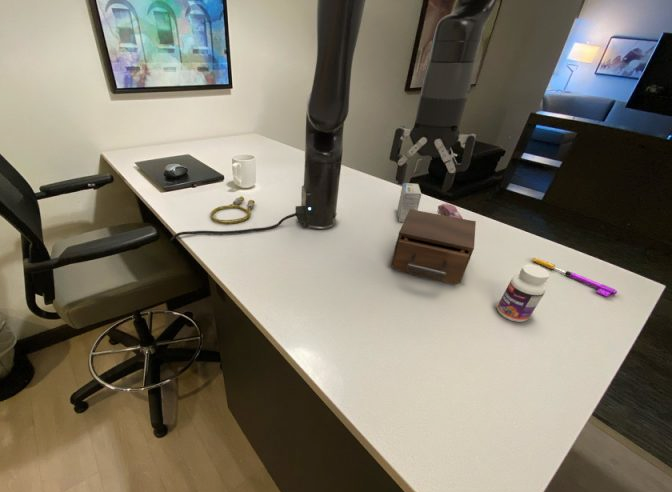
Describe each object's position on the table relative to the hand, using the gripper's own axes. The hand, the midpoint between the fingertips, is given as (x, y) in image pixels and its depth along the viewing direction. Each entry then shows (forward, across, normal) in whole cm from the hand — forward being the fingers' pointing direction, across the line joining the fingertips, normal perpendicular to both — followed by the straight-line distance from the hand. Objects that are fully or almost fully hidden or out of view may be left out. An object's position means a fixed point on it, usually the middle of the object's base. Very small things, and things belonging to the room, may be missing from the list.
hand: (421, 187), depth 66 cm
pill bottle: (+18, +23, -7) cm, 30 cm away
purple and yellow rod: (+19, +32, +13) cm, 39 cm away
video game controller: (+18, +5, +26) cm, 32 cm away
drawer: (+17, +5, -1) cm, 18 cm away
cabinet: (+18, +4, +4) cm, 19 cm away
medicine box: (+18, -7, +24) cm, 31 cm away
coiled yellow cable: (+17, -50, -1) cm, 52 cm away
